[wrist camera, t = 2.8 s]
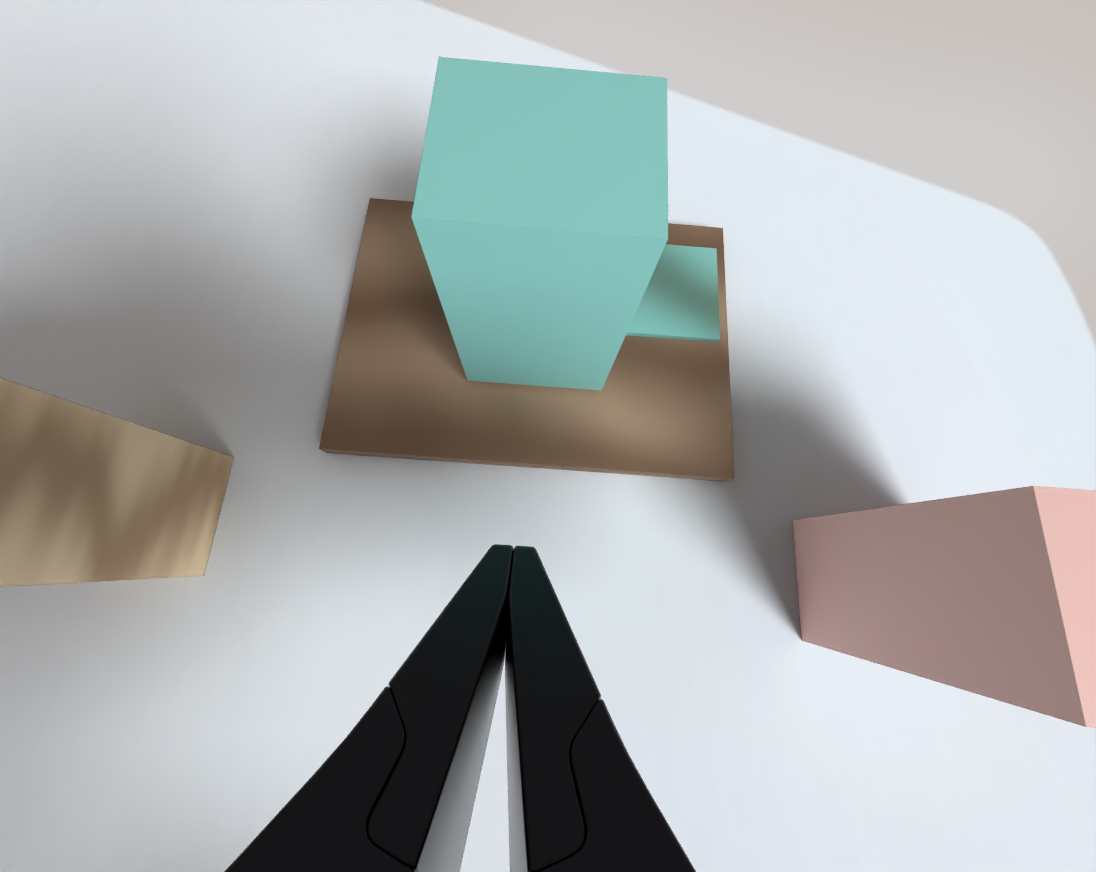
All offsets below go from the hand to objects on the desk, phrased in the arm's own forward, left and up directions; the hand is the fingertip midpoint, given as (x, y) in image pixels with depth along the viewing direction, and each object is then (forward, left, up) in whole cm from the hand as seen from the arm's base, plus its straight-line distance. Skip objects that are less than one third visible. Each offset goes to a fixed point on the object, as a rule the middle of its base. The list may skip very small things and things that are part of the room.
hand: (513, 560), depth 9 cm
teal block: (+8, -6, -10) cm, 14 cm away
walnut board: (+8, -6, -11) cm, 15 cm away
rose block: (-8, -12, -11) cm, 18 cm away
